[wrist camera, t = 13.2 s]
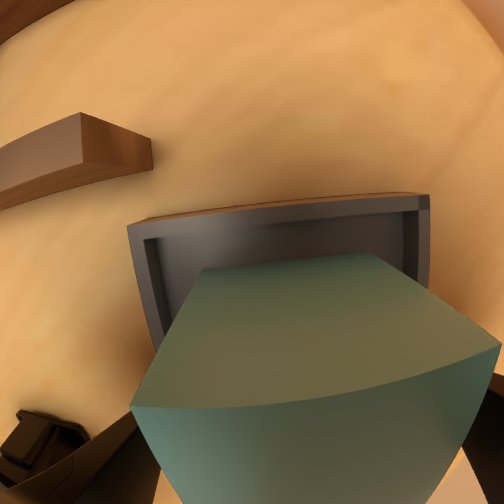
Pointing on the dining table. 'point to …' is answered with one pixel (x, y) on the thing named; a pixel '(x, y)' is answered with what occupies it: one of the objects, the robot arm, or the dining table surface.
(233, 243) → the gray tray
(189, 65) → the dining table surface
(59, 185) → the frame
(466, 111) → the dining table surface
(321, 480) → the teal block
